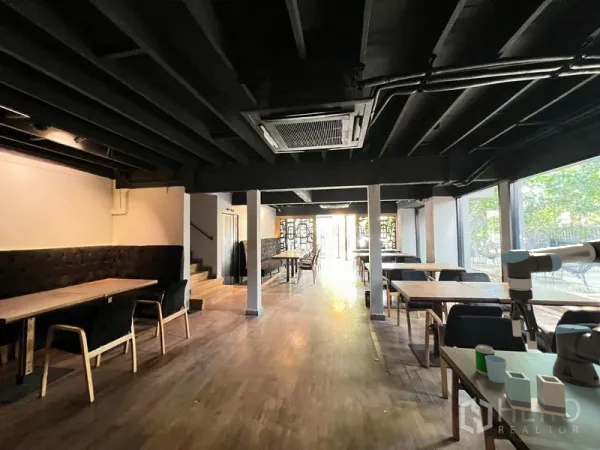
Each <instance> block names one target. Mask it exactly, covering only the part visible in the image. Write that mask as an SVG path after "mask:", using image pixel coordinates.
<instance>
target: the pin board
mask: <svg viewBox="0 0 600 450" xmlns="http://www.w3.org/2000/svg"><path fill="white" fill-rule="evenodd" d="M503 396H504V398H505V399H506V401H507V403H508V404H509V406H510V407H511V409H513V410H514V409H515V410H520V411H521V410H522V411H526V412H533V413H538V414H539V413H540V414H547V415H553V416H560V417H566V418H571V415H570V414H568V412H566V414H565V413H559V412H552V411H545V410H544V409H543V407H542V406H541V405H540V404H539V402H538V401H537V397H531V408H526V407H519V406H513V405H511V404H510V402H509V400H508V399H507V397H506V393H503Z"/></svg>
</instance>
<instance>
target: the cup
mask: <svg viewBox="0 0 600 450" xmlns="http://www.w3.org/2000/svg"><path fill="white" fill-rule="evenodd" d="M485 359H486V365H487V371H488V376H487V377H488V380H489V381H490V382H493V383H497V384H504V383H505V371H507V359H505V358H504V357H502V356H501V357H500V356H497V355H495V356H493V355H488V356H486V357H485Z"/></svg>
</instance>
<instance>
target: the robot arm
mask: <svg viewBox="0 0 600 450" xmlns="http://www.w3.org/2000/svg"><path fill="white" fill-rule="evenodd" d="M577 262H579V263H580V262H581V264H582V263H584V264H591V263H595V264H600V238H599V239H593V240H586V241H579V242H577V243H576V244H572V245H564V246H555V247H545V248H537V249H530V250H529V249H509V250H507V251H505V252H503V254H502V255H501V263H502V264H503V265H504V266H505V267H506V272H507V280H506V283H507V285H508V287H509V288H508V297H509V298H510V307H509V315H508V316H509V317H510V319H511V326H512V335H513V337H517V338H518V337H520V338H521V337H522V326H521V319H523V321H524V324H525V327H526V329H525V333H526V344H527V349H528V350H536V351H537V350H538V344H537V343H538V342H537V333H539V332H540V330H539V325H538V322H537V320H536V316H535V312H534V305H533V304H530V303H529V302H528V301H531V300H533V299H534V295H533V294H534V293H533V290H532V289H533V283H532V282H533V281H532V274H533V273H534V274H535V273H552V272H558V271H560V270H561V268H562V267H563V264H569V263H577ZM521 316H522V318H521ZM555 327H556V328H555V344H556V345H555V346H556V359H555V360H554V363H553V366H552V374H553V376H554V377H557V378H558V379H559V380H560V381H564V382H567V383H569V384H573V385H577V386H580V387H589V388H592V387H593V388H594V387H599V386H600V377H599V374H598V372H597V370H596V368H595V366H597V367H600V323H598V326H597V327H594V328H592V329H591V328H590V327H589V326H585V325H579V324H578V325H577V324H558V325H557V326H555Z"/></svg>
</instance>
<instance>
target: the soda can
mask: <svg viewBox="0 0 600 450" xmlns="http://www.w3.org/2000/svg"><path fill="white" fill-rule="evenodd" d="M474 348H475V349H474V351H475V370H476V371H477V372H478V373H479V374H480V375H481V376H487V377H488V371H487V365H486V359H485V357H486V356H488V355H493V356H496V354H495V350H494V349H493V347H492V346H489V345H487V344H477V346H475V347H474Z"/></svg>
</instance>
